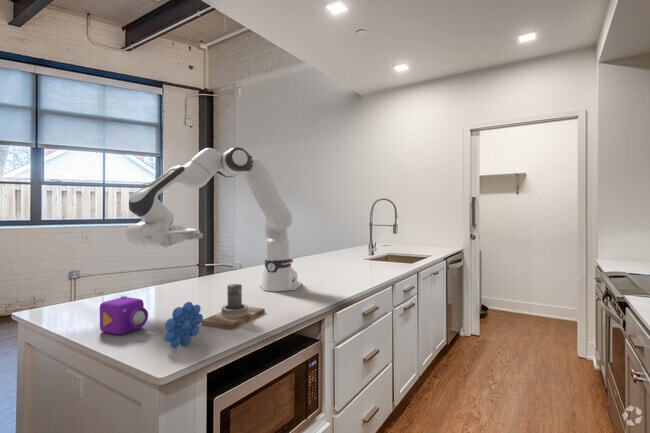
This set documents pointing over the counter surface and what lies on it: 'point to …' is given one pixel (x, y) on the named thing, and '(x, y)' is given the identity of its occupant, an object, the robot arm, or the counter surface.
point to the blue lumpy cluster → (183, 325)
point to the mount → (232, 317)
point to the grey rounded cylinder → (234, 296)
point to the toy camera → (122, 315)
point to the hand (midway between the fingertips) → (192, 236)
